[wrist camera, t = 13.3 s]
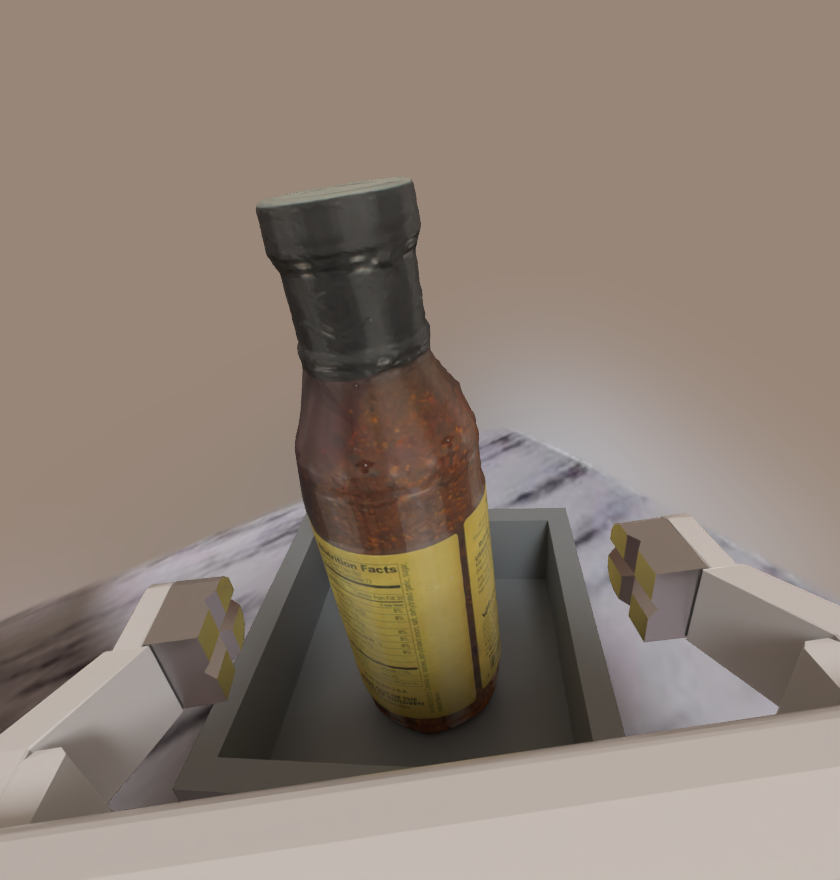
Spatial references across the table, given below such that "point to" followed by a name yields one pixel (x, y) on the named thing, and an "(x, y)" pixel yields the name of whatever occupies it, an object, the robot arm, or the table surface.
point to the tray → (351, 705)
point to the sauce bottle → (387, 454)
